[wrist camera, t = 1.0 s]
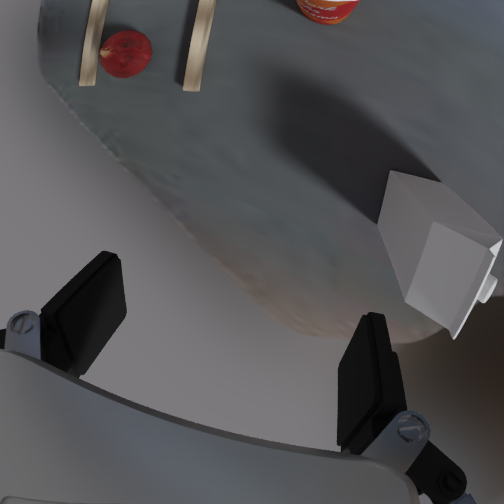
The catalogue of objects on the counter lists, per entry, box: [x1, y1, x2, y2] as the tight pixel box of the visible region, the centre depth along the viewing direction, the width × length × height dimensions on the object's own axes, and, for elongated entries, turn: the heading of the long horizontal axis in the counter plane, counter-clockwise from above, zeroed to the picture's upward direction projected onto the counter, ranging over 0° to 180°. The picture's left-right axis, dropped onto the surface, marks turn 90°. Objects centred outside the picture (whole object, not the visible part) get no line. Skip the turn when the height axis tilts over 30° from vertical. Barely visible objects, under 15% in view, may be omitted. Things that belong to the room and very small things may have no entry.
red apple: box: [100, 30, 152, 78], centre depth 27 cm, size 6×6×8 cm
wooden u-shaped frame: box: [79, 0, 217, 91], centre depth 25 cm, size 21×16×4 cm
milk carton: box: [377, 170, 503, 339], centre depth 25 cm, size 7×7×19 cm
